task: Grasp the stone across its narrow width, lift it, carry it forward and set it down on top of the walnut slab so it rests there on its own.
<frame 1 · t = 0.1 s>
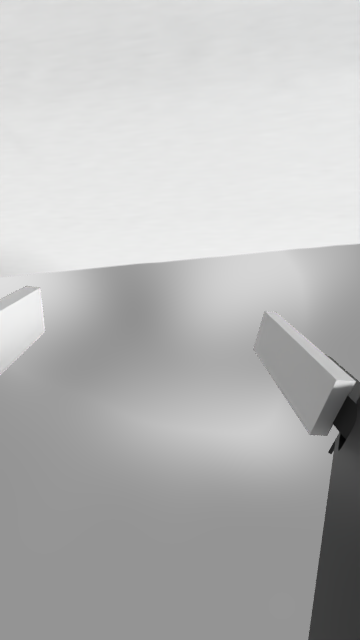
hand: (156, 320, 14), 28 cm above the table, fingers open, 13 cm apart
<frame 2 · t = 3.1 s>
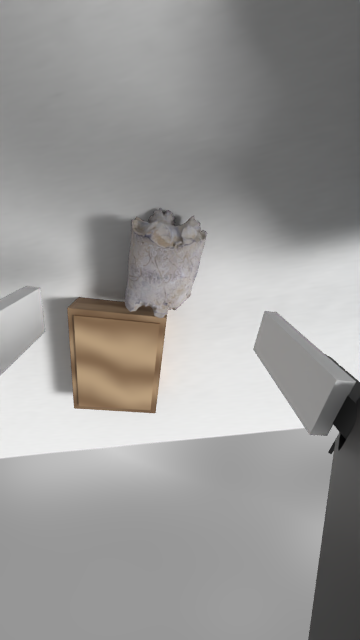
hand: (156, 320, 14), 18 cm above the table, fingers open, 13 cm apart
stone: (163, 260, 31), on the table
walnut slab: (121, 351, 36), on the table
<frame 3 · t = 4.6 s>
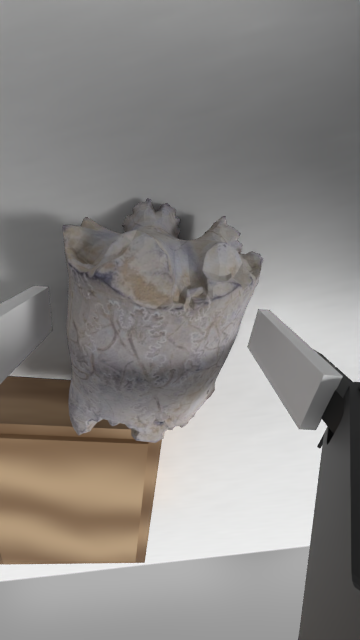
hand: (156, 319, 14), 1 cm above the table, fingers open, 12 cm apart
stone: (157, 304, 15), on the table
walnut slab: (85, 455, 20), on the table
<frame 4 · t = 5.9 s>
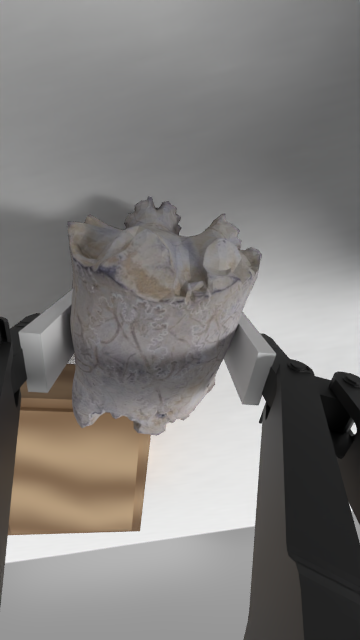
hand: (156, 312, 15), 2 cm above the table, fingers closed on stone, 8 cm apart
stone: (158, 300, 16), point 2 cm above the table, touching gripper
walnut slab: (84, 434, 22), on the table
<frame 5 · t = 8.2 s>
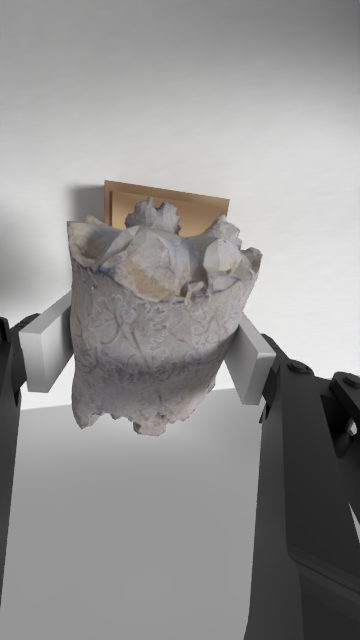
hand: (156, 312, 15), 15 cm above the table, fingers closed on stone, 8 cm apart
stone: (158, 301, 16), point 15 cm above the table, touching gripper
walnut slab: (161, 265, 29), on the table
when the fingers open (5 cm above the table, at t = 10.3 s): stone stays where it is, resting on walnut slab.
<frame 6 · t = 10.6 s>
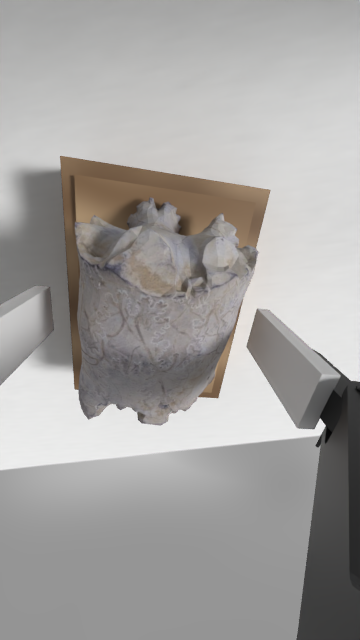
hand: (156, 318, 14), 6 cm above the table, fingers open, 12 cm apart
stone: (159, 297, 16), point 4 cm above the table, touching walnut slab
walnut slab: (158, 288, 20), on the table
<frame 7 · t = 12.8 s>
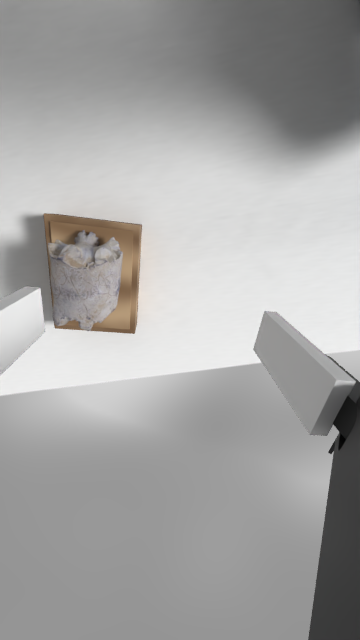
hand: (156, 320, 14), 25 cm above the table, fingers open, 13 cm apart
stone: (94, 276, 33), point 4 cm above the table, touching walnut slab
walnut slab: (100, 274, 37), on the table
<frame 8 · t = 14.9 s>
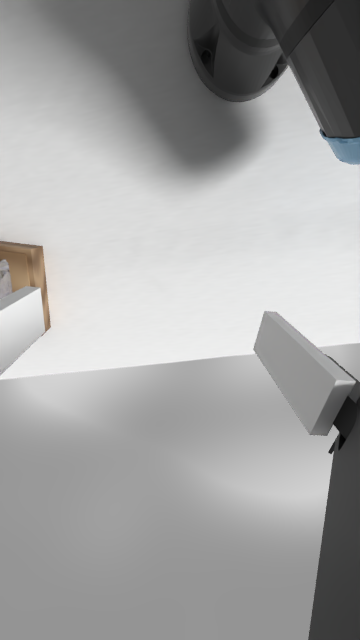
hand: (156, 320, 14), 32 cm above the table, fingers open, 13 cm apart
walnut slab: (13, 286, 44), on the table
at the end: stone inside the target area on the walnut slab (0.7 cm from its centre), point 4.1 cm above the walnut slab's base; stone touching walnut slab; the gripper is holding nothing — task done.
